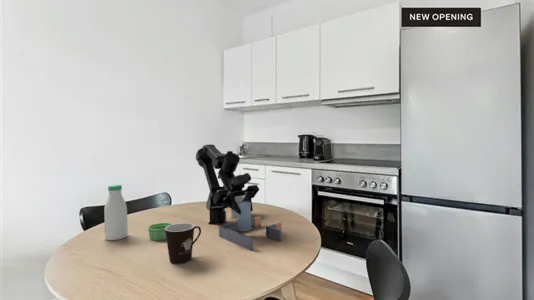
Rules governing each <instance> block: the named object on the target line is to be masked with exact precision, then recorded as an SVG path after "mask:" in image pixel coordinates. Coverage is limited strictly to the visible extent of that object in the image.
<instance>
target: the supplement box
mask: <svg viewBox="0 0 534 300" xmlns="http://www.w3.org/2000/svg"><path fill="white" fill-rule="evenodd" d="M246 189H247V188H242V190H246ZM235 200H236V202H241V201H242V200H243V197H242V196H237V197H235ZM230 210H231V211H230V212H231V218H237V212H235V211H234V210H232V209H231V208H230Z"/></svg>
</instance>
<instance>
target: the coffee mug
mask: <svg viewBox="0 0 534 300" xmlns="http://www.w3.org/2000/svg"><path fill="white" fill-rule="evenodd" d="M172 224H173V223H172ZM195 229H198V234H197V236H196V238H195V239H194V236H195ZM165 233H166V239H165V240H166V244H167V245H166V246H167V252H168V258H169V262H170V264H172V265H180V264H181V265H182V264H186V263H188V262H191V260H192V257H193V256H192V254H193V245H195V243H196V242H197V241H198V239H199V238H200V236H201V233H202V228H201V227H200V226H199V225H197V226H195V225H194V224H193V223H189V222H188V223H186V222H182V223H174V224H173V225H170V226H167V227H166V228H165Z"/></svg>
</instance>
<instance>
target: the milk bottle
mask: <svg viewBox="0 0 534 300" xmlns="http://www.w3.org/2000/svg"><path fill="white" fill-rule="evenodd" d="M107 190H108V197H107V200H106V201H105V204H104V213H103V214H104V217H103V218H104V238H105V240H106V241H118V240H122V239H125V238H127V237H128V235H129V234H128V233H129V232H128V231H129V230H128V227H129V226H128V207H127V202H126V201H125V199H124V197H123V194H122V190H123V185H122V184H112V185H108V187H107Z"/></svg>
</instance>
